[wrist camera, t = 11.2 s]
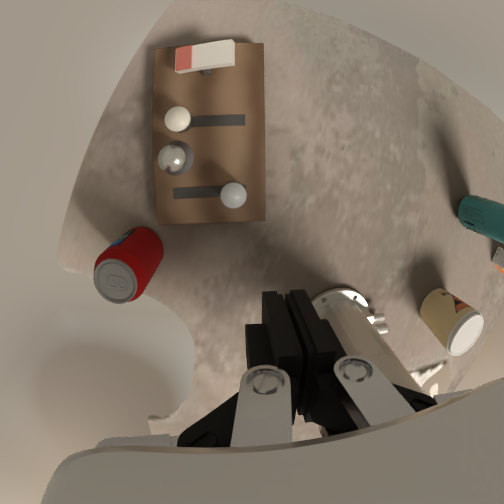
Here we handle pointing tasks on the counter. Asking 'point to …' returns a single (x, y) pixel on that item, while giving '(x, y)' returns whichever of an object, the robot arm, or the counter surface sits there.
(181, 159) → the button
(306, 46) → the counter surface
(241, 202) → the lever grey
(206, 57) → the block
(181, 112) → the lever ivory
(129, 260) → the beverage can
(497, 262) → the skincare box
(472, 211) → the beverage bottle
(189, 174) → the console
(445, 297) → the coffee cup
